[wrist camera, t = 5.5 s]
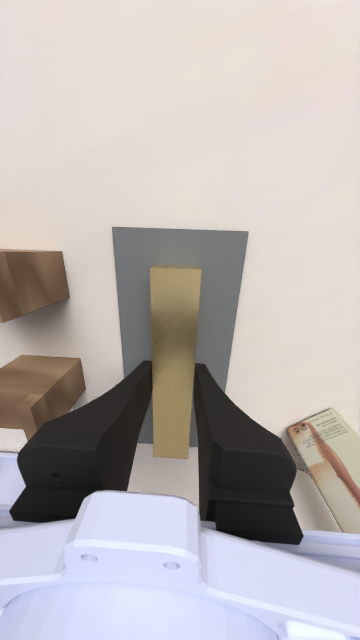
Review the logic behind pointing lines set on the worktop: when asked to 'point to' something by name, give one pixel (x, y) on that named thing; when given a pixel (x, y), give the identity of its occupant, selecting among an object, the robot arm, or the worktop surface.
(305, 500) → the cylindrical container
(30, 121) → the worktop surface
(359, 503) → the skincare box
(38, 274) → the posts
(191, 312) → the rail
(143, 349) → the mat
